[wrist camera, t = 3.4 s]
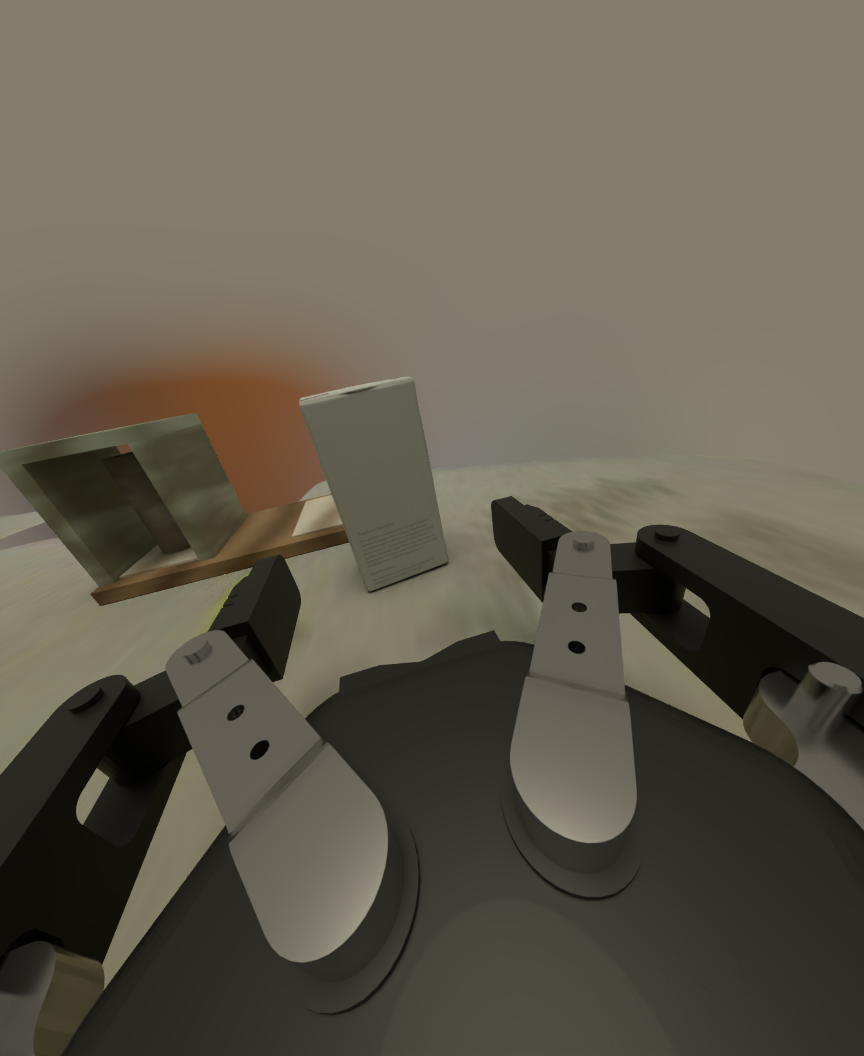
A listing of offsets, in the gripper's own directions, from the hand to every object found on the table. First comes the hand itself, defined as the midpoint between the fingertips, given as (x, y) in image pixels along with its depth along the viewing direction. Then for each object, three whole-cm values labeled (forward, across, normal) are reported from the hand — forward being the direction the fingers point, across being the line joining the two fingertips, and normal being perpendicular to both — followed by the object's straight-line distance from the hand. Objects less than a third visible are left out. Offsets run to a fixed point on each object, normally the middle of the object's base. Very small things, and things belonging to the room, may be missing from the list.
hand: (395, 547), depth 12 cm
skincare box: (+9, 0, +7) cm, 11 cm away
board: (+20, +11, +6) cm, 24 cm away
